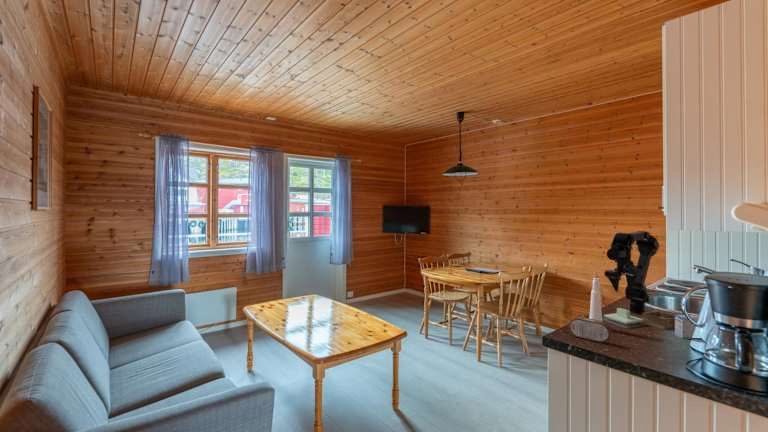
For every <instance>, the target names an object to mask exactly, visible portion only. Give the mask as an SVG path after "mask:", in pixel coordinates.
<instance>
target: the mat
mask: <svg viewBox="0 0 768 432" xmlns="http://www.w3.org/2000/svg"><path fill="white" fill-rule="evenodd" d="M602 321H603V322H605V323H609V324H612V325H616V326H618V327H621V328H624V329H630V328H638V327H645V326H648V324H645V323H642V322H637V323H636V324H629V325H624V324H621V323H618V322H615V321H611V320H610V318H607V317H604V318H603V317H602Z"/></svg>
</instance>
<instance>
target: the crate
mask: <svg viewBox="0 0 768 432" xmlns="http://www.w3.org/2000/svg"><path fill="white" fill-rule="evenodd" d="M641 319H644V320H643V321H641V323H644V324H647V326H648V325H649V326H652V327H656V328H658V329H661V330H664V329H665V330H672V329H675V315H674V314H670V313H667V312H662V311H660V310H656V311H655V310H654V311H653V310H652V311H646V312H645V313H642V314H641ZM671 328H672V329H671ZM665 330H664V331H665Z"/></svg>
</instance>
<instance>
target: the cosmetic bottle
mask: <svg viewBox="0 0 768 432" xmlns="http://www.w3.org/2000/svg"><path fill="white" fill-rule="evenodd" d="M592 279H593V280H592V289H591V292H590V302H589V303H590V305H589V306H590V307H589V317H588V318H590V319H595V320H600V321H603V320H602V318H603V311H602V293H601V291H600V290H601V286H600V285H601V282H600V278H599V277H598V278H597V277H593V278H592Z"/></svg>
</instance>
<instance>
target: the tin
mask: <svg viewBox="0 0 768 432" xmlns="http://www.w3.org/2000/svg"><path fill="white" fill-rule="evenodd" d="M568 327H569V331H570V332H571V334H573V336H575V337H577V338H579V337H580V339H583V338H584V339H583V340H587V339H588V341H592V342H596V341H597V343H606V342H608V341H610V339H611V338H612V335H613V330H612V329H611V326H610V325H609V324H608V322H606V321H603V320H602V321H600V320H595V319H590V318H589V317H584V316H574V317H572V319H571V320H570V322H569V323H568Z"/></svg>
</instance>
